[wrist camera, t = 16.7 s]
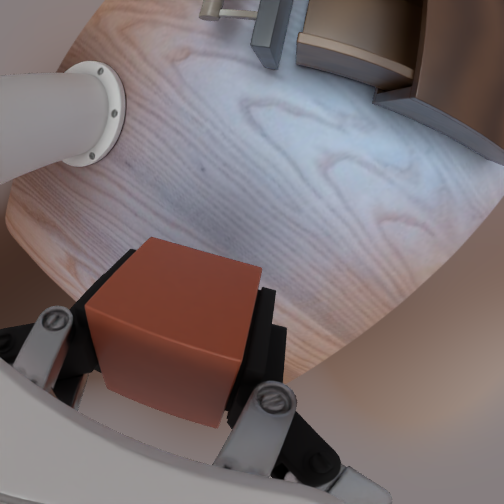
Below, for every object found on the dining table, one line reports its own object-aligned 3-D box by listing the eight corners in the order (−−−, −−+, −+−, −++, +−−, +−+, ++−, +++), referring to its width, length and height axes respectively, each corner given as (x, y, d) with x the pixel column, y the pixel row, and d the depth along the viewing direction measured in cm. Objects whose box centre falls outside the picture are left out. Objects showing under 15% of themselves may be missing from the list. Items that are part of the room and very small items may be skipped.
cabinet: (371, 103, 20) (415, 97, 12) (390, -11, 14) (426, -53, 5) (487, 159, 20) (546, 185, 11) (502, 55, 13) (558, 51, 5)
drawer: (210, 61, 20) (175, 41, 13) (238, -42, 14) (217, -84, 7) (412, 111, 19) (456, 113, 12) (427, 5, 13) (465, -20, 6)
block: (149, 317, 12) (106, 388, 8) (150, 235, 10) (83, 305, 6) (239, 346, 12) (217, 429, 8) (262, 267, 10) (242, 361, 6)
